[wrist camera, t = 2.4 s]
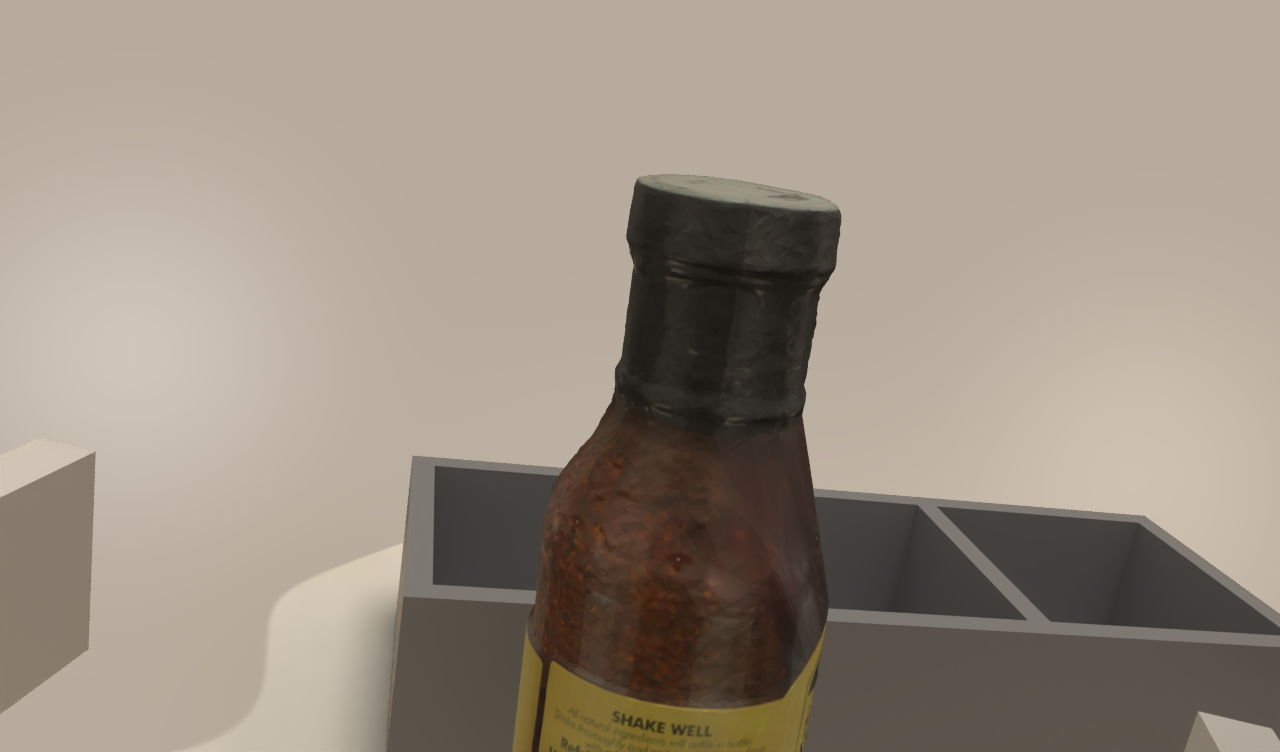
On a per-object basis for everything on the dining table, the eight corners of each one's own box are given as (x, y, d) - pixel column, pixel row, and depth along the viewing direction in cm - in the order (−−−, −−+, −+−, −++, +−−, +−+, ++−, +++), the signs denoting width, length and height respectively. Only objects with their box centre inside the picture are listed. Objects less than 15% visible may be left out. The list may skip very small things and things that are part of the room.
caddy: (1098, 647, 50) (1139, 511, 48) (1269, 814, 40) (1329, 649, 38) (396, 608, 44) (413, 451, 42) (382, 793, 34) (403, 596, 32)
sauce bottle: (794, 1093, 26) (1005, 236, 20) (547, 1201, 23) (719, 217, 17) (649, 896, 31) (785, 172, 26) (433, 960, 28) (534, 148, 22)
